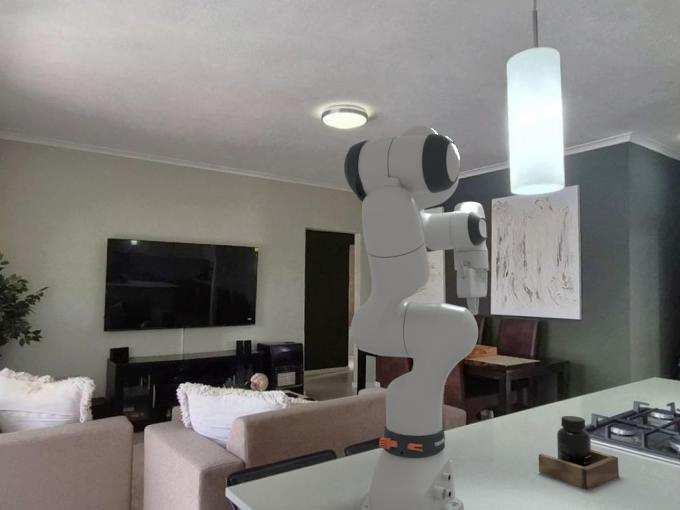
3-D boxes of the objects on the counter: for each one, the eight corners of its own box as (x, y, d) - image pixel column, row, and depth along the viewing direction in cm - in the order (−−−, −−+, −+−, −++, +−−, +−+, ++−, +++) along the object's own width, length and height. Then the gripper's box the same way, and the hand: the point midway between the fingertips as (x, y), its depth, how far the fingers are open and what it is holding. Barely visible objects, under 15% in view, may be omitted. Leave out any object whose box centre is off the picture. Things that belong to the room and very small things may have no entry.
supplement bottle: (596, 480, 106) (593, 423, 106) (562, 477, 107) (560, 422, 108) (586, 467, 112) (584, 414, 113) (555, 466, 114) (553, 413, 114)
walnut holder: (539, 472, 110) (538, 454, 110) (570, 460, 117) (569, 443, 117) (587, 490, 101) (587, 470, 101) (618, 475, 108) (617, 457, 108)
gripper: (474, 260, 121) (477, 316, 120) (490, 264, 139) (492, 313, 138) (449, 261, 124) (451, 316, 123) (468, 265, 142) (470, 313, 141)
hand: (473, 314), depth 130 cm, fingers closed
